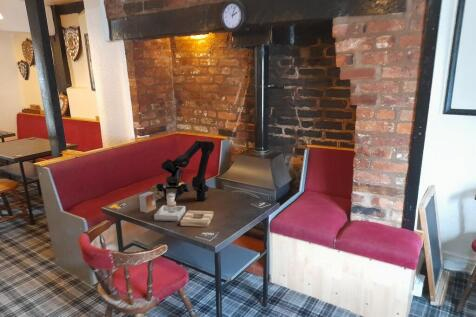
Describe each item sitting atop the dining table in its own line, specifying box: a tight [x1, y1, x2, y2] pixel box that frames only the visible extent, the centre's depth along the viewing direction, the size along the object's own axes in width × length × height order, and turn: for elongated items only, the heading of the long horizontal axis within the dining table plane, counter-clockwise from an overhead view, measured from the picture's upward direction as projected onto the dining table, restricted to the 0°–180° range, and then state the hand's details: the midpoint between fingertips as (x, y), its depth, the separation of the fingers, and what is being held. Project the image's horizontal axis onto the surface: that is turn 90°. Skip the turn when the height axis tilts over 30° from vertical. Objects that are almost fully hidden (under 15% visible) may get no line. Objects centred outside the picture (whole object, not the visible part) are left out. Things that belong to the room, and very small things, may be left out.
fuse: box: [166, 191, 177, 213], centre depth 195 cm, size 5×5×10 cm
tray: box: [153, 204, 187, 222], centre depth 198 cm, size 14×14×4 cm
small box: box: [138, 190, 157, 214], centre depth 207 cm, size 8×6×10 cm
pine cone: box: [138, 184, 165, 202], centre depth 221 cm, size 22×10×10 cm, turn 151°
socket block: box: [179, 210, 214, 228], centre depth 192 cm, size 15×15×2 cm
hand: (170, 201), depth 193 cm, fingers closed on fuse, 5 cm apart
